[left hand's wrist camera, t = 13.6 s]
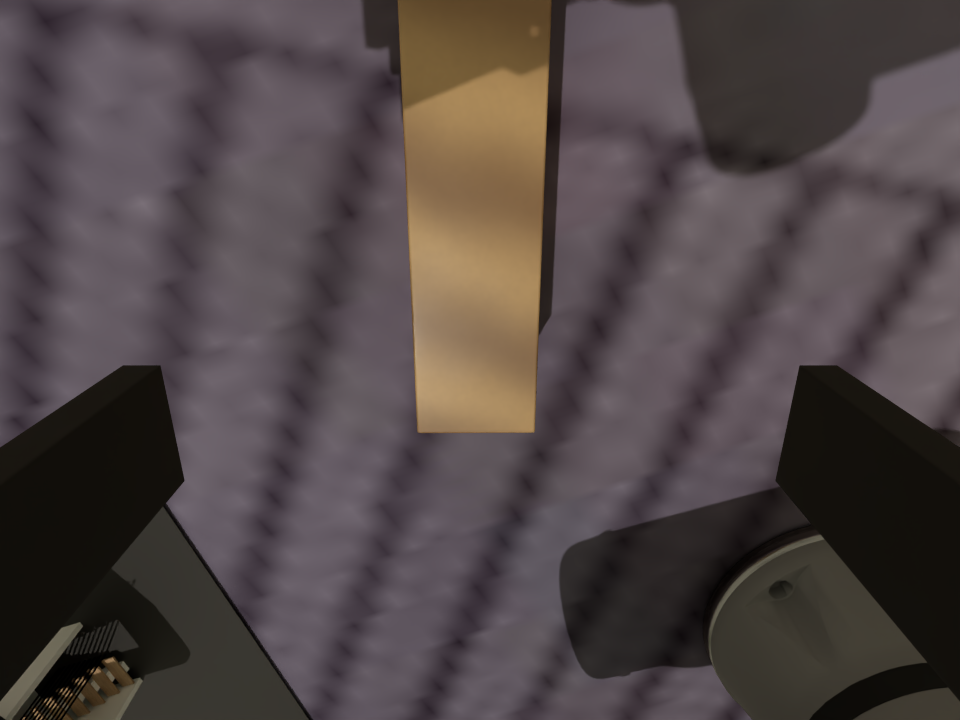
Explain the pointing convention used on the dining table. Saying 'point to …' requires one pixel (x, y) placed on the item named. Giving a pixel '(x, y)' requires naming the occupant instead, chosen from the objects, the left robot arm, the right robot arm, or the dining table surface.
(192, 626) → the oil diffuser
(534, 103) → the bar
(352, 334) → the dining table surface
